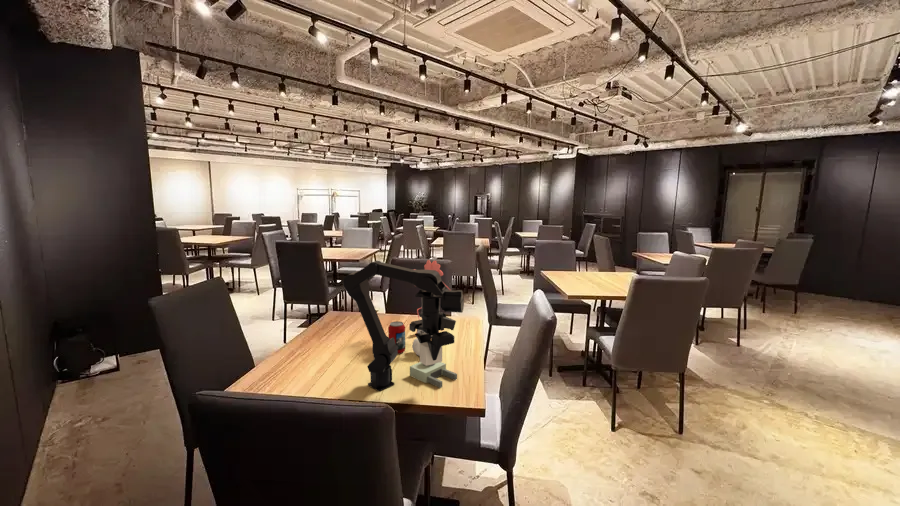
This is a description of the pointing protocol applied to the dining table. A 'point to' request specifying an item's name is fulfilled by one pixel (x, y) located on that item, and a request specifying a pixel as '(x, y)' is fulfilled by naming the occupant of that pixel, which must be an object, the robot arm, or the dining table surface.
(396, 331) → the beverage can
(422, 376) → the wall plug adapter
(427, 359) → the upright cream block
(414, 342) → the bust
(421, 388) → the dining table surface
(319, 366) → the dining table surface
